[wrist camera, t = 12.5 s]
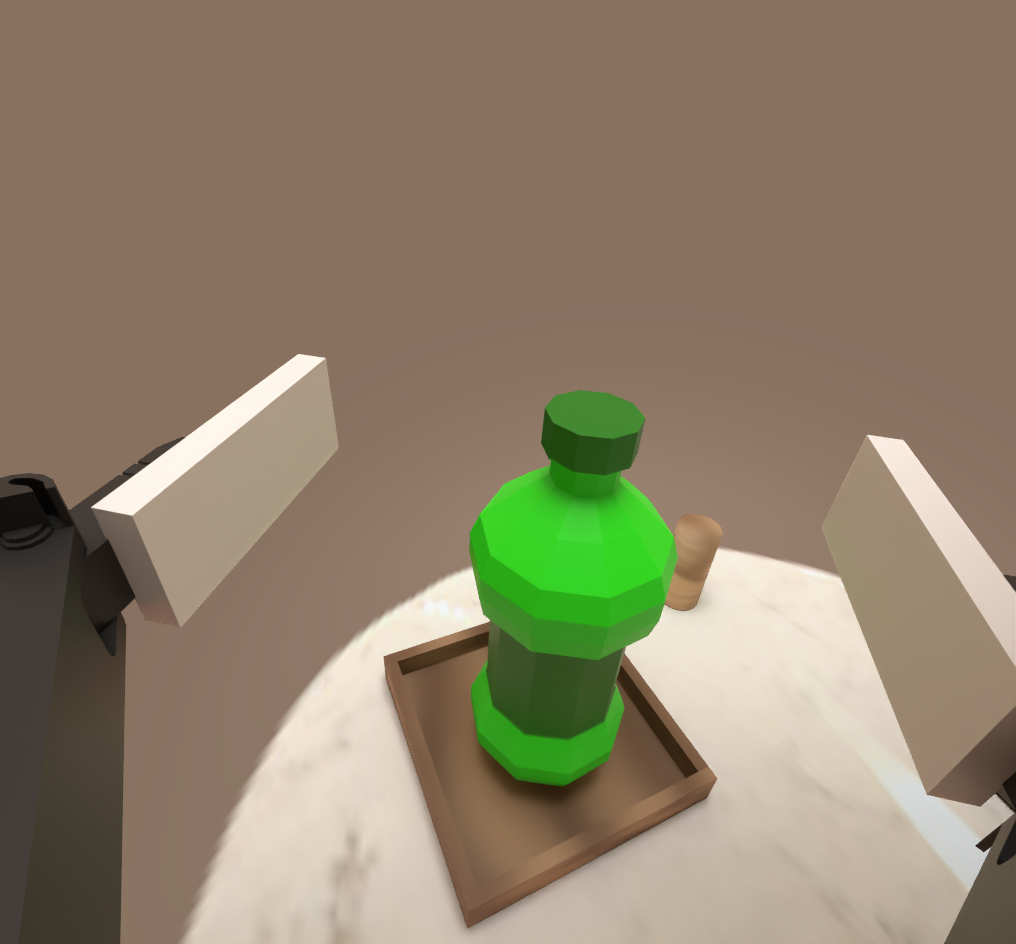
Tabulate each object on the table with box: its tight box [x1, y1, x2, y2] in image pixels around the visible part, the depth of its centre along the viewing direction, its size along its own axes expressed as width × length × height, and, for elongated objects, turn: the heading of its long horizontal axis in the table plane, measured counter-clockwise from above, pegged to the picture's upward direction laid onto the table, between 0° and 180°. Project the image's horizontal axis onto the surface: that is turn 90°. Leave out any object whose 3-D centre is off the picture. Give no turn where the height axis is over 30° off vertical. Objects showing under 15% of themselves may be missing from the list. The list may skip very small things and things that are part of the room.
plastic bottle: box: [469, 390, 678, 787], centre depth 31 cm, size 10×10×25 cm
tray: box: [384, 622, 717, 928], centre depth 38 cm, size 17×17×2 cm
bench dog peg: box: [664, 514, 722, 610], centre depth 48 cm, size 4×4×8 cm
